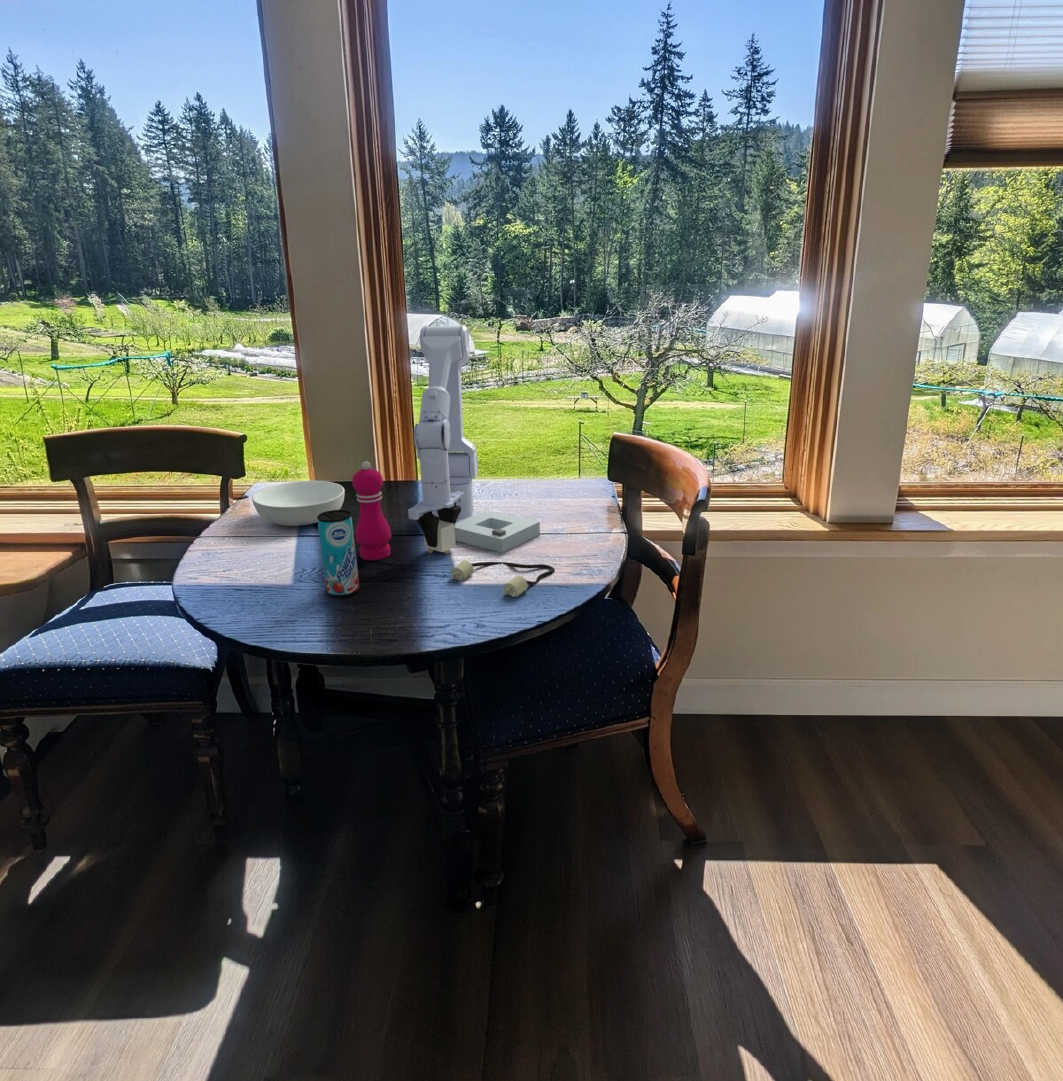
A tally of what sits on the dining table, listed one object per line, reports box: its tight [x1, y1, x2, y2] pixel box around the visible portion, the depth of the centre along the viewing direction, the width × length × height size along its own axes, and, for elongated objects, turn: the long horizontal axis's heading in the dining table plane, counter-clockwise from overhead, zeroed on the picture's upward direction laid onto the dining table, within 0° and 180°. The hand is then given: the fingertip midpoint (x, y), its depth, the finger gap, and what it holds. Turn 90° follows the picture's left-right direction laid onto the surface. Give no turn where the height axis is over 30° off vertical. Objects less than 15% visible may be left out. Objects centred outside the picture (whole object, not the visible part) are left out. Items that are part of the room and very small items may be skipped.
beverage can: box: [317, 509, 360, 598], centre depth 137 cm, size 6×6×15 cm
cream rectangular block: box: [423, 520, 456, 555], centre depth 156 cm, size 5×4×6 cm
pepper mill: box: [352, 460, 392, 561], centre depth 153 cm, size 7×7×20 cm
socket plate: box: [454, 509, 541, 554], centre depth 164 cm, size 15×13×4 cm
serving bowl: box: [251, 480, 346, 527], centre depth 178 cm, size 21×21×7 cm
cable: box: [450, 560, 555, 598], centre depth 144 cm, size 16×16×4 cm
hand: (439, 542), depth 157 cm, fingers closed on cream rectangular block, 4 cm apart
